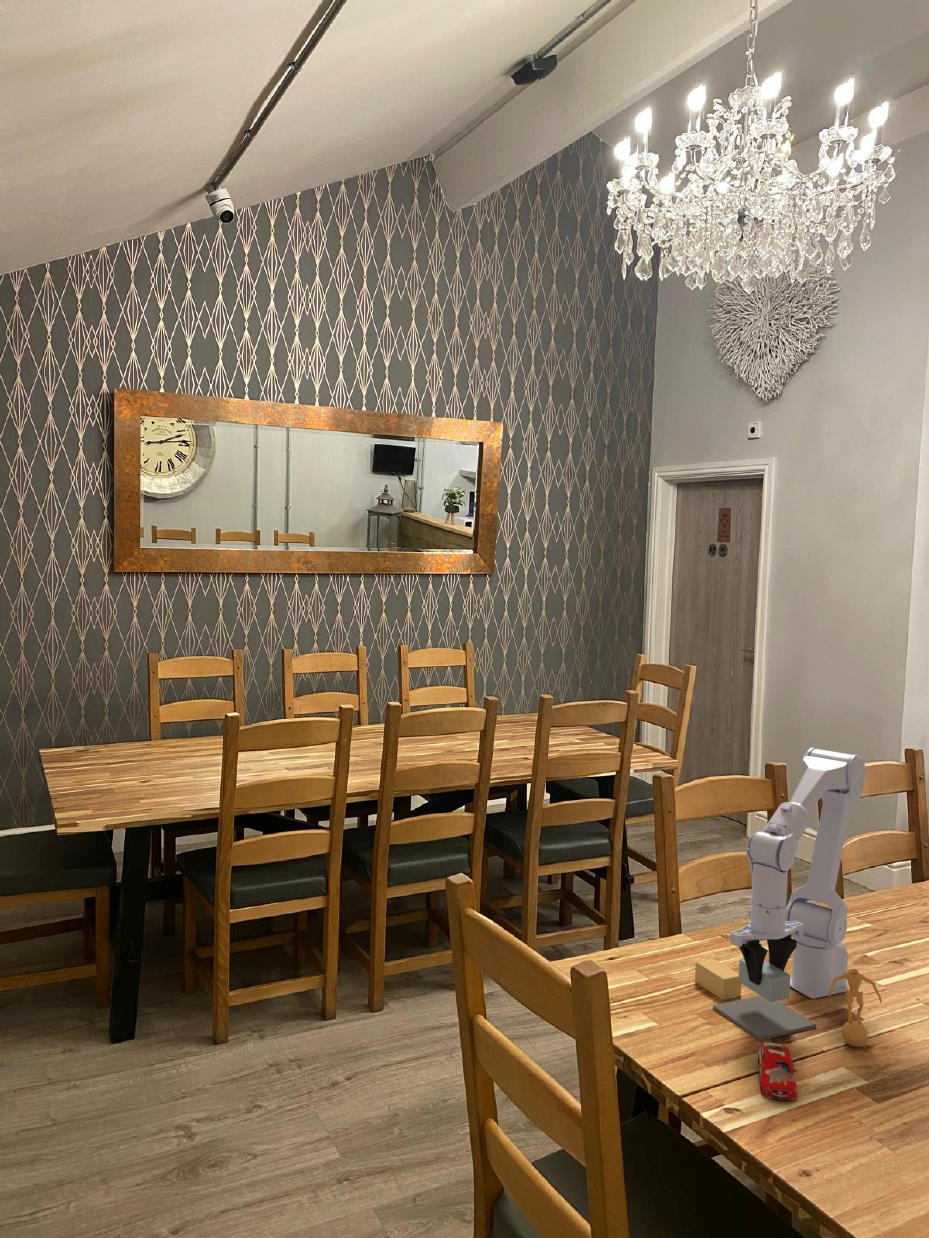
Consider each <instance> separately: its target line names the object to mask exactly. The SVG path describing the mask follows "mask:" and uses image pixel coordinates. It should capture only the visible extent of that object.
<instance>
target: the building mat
mask: <svg viewBox="0 0 929 1238" xmlns="http://www.w3.org/2000/svg"><path fill="white" fill-rule="evenodd" d="M712 1009H713V1010H714V1011H715V1012H717V1013H719V1014H720V1015H722V1016H723V1017H724V1018H726V1019H727V1020H729V1021H731V1022H732V1023H734V1024H735V1025H737V1026H738V1027H739V1028H741V1029H743V1030H744V1031H745V1032H747V1033H749V1034H750V1035H752V1036H753V1037H755V1038H756V1039H758V1040H760V1041H765V1040H770V1039H774V1038H777V1037H782V1036H785V1035H790V1034H794V1033H799V1032H803V1031H807V1030H811V1029H816V1028H817V1023H816V1022H813V1021H812V1020H811V1019H808V1018H807V1017H805V1016H804V1015H803V1014H800V1013H799V1012H798V1011H795V1010H794V1009H792V1008H790V1007H789V1006H787V1005H785V1004H784V1003H782V1002H781V1001H780V1000H777V1001H773V1002H770V1001H769V1000H767V999H765V998H764V997H762V996H761V995H756V996H751V997H745V998H742V999H737V1000H733V1001H728V1002H723V1003H719V1004H714V1005H712Z"/></svg>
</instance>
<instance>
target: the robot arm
mask: <svg viewBox="0 0 929 1238" xmlns="http://www.w3.org/2000/svg"><path fill="white" fill-rule="evenodd" d="M866 772H867V770H866V765H865V762H864V759H863V757H862V756H861V755H860V754H851V753H850V754H849V753H845V752H839V751H832V750H828V749H827V750H825V749H821V748H817V747H810V748H809V749H807V751H806V752H805V753H804V755H803V759H802V762H801V775H802V777H801V779H800V780H799V782H798V785H797V787H796V789H795V790H794V793H793V795H792V797H791V799H790V801H789V802H788V801H786V802H782V803H780V805H779V806H778V807H777V809H776V810H775V811H774V813H773V815H772V816H771V817H770V819H769V821H768V822H767V823H766V825H765V826H764V828H763V830H759V831H757V832H755V833H753V834H751V836H750V838H749V839H748V843H747V846H746V847H747V848H746V851H745V854H746V859H747V861H748V865H749V866H748V867H749V868H748V869H749V874H751V876H752V877H751V899H750V920H748V921H747V925H745V926H743V927H741V928H738V929H736V930H733V931H732V930H731V931H730V932H729V944H731V945H734V946H735V947H736V948H739V951H740V952H741V954H742V957H743V959H744V960H745V963H746V967H747V971H748V976H749V981H751V982H752V983H754V984H756V985H760V983H761V979H762V969H763V963H764V960H765V959H766V956H767V954H768V963H770V964H772V965H774V966H775V967H777V968H779V969H781V970H782V971H784V972H785V969H786V967H787V964H788V961H789V959H790V957H791V955H792V972H791V976H790V987H791V988H792V989H794V990H796V991H797V992H799V993H801V994H803V995H805V996H806V997H808V998H810V999H813V1000H814V999H818V998H823V997H829V995H828V991H829V989H830V986H831V984H832V982H833V979H834V978H835V977H836V976H839V975H842V974H844V973H847V972H848V962H849V961H848V960H849V957H848V956H849V955H848V950H847V948H846V945H845V944H844V943H843V941H844V940H845V936H846V934H847V929H848V920H847V919H848V918H847V917H848V905H847V904H846V902H845V900H843V899H842V898H841V896H840V895H839V894H838V893H837V892H836V885H837V880H838V875H839V872H840V866H841V860H842V856H843V850H844V847H845V841H846V840H845V839H846V836H847V829H848V824H849V821H850V820H849V819H850V814H851V810H852V806H853V803H856V802H859V801H860V800H861V796H862V795H863V790H864V785H865V779H866V775H867V773H866ZM821 799H822V807H821V813H820V817H819V822H818V827H817V831H816V836H815V841H814V845H813V847H814V848H813V851H812V857H811V861H810V867H809V871H808V876H807V880H806V884H804V885H801V886H800V887H798V888H796V889H793V891H792V892H791V894H790V898H789V901H788V904H787V896H788V895H787V893H788V890H787V889H788V873H789V871H790V869H791V868H792V866H793V864H794V863H795V859H796V853H797V850H798V848H799V846H798V842H799V841H800V839H801V837H802V836H803V835H804V833H805V831H806V830H807V828H808V826H809V825H810V822H811V819H810V815H809V813H810V812H811V810H812V809H813V808H814V807H815V805H816V804H817V803H818V802H820V801H819V800H821ZM809 901H813V902H816V903H820V904H824V905H826V906H823V905H820V904H815V903H811V902H809ZM827 906H828V907H827ZM762 941H766V943H767V948H765V947H763V946H762V943H760V942H762ZM765 961H766V960H765ZM847 984H848V981H847V979H846V978H844V979H840V980H836V982H835V984H834V987H833V989H832V990H831V992H832V994H831V995H836V994H840V993H846V990H849V992H850V987H849V986H848V985H847Z"/></svg>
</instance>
